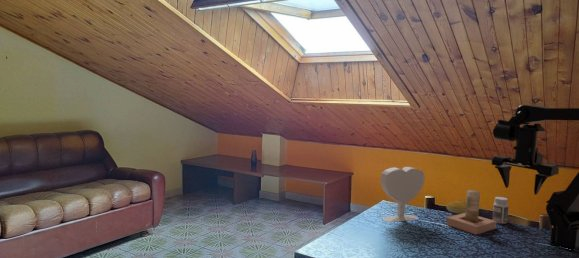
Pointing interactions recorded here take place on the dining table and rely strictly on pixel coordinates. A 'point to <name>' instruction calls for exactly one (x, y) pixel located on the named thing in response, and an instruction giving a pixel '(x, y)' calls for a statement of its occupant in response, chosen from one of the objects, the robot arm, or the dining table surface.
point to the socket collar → (471, 224)
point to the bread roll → (457, 207)
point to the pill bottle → (500, 210)
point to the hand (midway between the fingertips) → (521, 190)
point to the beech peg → (472, 206)
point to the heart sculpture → (402, 188)
